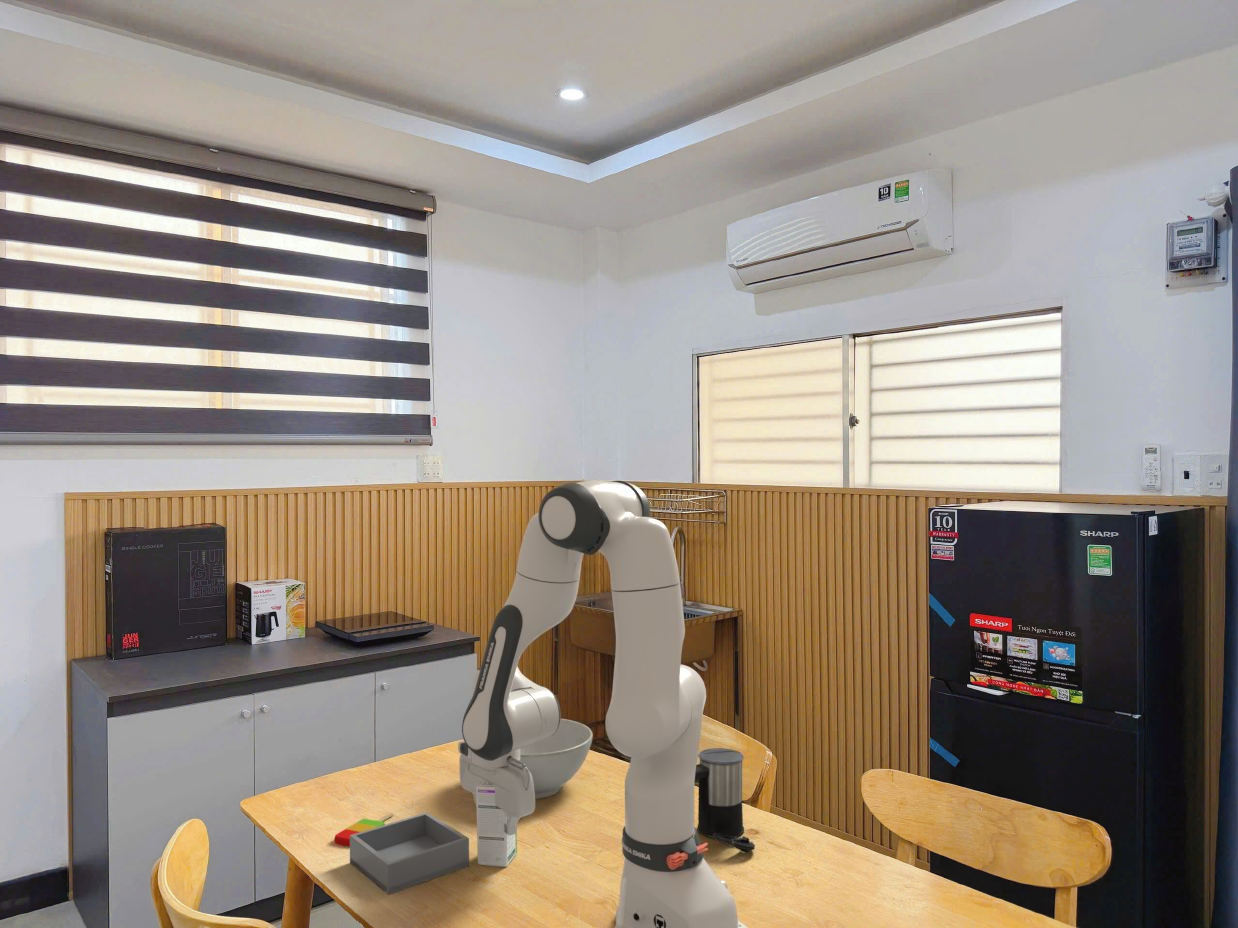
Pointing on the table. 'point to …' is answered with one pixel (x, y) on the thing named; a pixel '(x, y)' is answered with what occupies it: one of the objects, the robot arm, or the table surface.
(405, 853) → the bin
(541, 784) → the decorative bowl
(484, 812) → the syrup box
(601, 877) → the table surface
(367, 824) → the popsicle
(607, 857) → the table surface
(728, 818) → the milk frother
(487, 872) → the table surface
